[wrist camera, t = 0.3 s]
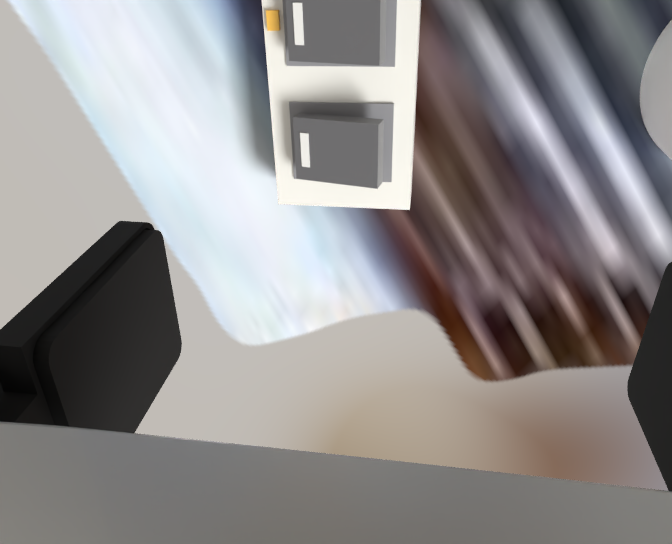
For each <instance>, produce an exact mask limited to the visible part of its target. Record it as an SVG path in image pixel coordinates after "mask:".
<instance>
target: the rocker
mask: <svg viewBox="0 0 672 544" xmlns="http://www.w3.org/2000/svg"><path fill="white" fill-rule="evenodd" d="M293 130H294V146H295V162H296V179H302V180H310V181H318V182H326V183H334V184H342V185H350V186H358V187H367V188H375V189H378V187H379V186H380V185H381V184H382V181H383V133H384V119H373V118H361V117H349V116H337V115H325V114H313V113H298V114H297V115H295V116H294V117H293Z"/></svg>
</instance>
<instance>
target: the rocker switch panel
mask: <svg viewBox="0 0 672 544" xmlns="http://www.w3.org/2000/svg"><path fill="white" fill-rule="evenodd" d="M262 10H263V23H264V35H265V47H266V59H267V72H268V84H269V96H270V108H271V120H272V133H273V145H274V157H275V169H276V181H277V194H278V204H286V205H310V206H333V207H357V208H380V209H404V210H410V202H411V191H412V172H413V152H414V132H415V112H416V92H417V72H418V52H419V32H420V12H421V0H386V39H385V62H384V63H383V64H381V65H380V66H374V65H355V64H336V63H317V62H298V61H289V50H288V34H287V18H286V2H285V0H262ZM298 113H313V114H325V115H337V116H349V117H361V118H373V119H384V133H383V181H382V184H381V185H380V186H379V187H378V189H375V188H367V187H358V186H350V185H342V184H334V183H326V182H318V181H310V180H302V179H296V162H295V146H294V130H293V117H294V116H295V115H297V114H298Z"/></svg>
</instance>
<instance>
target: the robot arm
mask: <svg viewBox="0 0 672 544" xmlns="http://www.w3.org/2000/svg"><path fill="white" fill-rule="evenodd" d="M181 344H182V343H181V336H180V330H179V324H178V319H177V313H176V307H175V302H174V296H173V290H172V285H171V280H170V274H169V268H168V263H167V257H166V251H165V246H164V240H163V236H162V234H161V232H160V231H159V230H154V228H153V226H152V225H151V224H150V223H145V222H129V221H119V222H118V223H116V224H115V225H114V226H113V227H112V228H111V229H110V230H109V231H108V232H106V233H105V234H104V235H103V236H102V237H101V238H100V239H99V240H98V241H97V242H96V243H94V244H93V245H92V246H91V247H90V248H89V249H88V250H87V251H86V252H85V253H84V254H82V255H81V256H80V257H79V258H78V259H77V260H76V261H75V262H74V263H73V264H72V265H71V266H69V267H68V268H67V269H66V270H65V271H64V272H63V273H62V274H61V275H60V276H58V277H57V278H56V279H55V280H54V281H53V282H52V283H51V284H50V285H49V286H47V288H45V289H44V290H43V291H42V292H41V293H40V294H39V295H38V296H37V297H35V298H34V299H33V300H32V301H31V302H30V303H29V304H28V305H27V306H26V307H25V308H23V309H22V310H21V311H20V312H19V313H18V314H17V315H16V316H15V317H14V318H13V319H11V320H10V321H9V322H8V323H7V324H6V325H5V326H4V327H3V328H2V329H0V544H672V262H671V263H669V264H668V266H667V267H666V269H665V272H664V275H663V278H662V281H661V284H660V287H659V290H658V293H657V296H656V299H655V302H654V305H653V308H652V310H651V313H650V316H649V319H648V322H647V325H646V328H645V331H644V334H643V337H642V340H641V343H640V346H639V349H638V352H637V355H636V358H635V361H634V364H633V367H632V370H631V373H630V376H629V380H628V397H629V400H630V402H631V405H632V407H633V409H634V411H635V414H636V416H637V418H638V421H639V423H640V425H641V427H642V430H643V432H644V435H645V437H646V439H647V441H648V444H649V446H650V448H651V451H652V453H653V455H654V457H655V460H656V462H657V465H658V467H659V469H660V471H661V474H662V476H663V478H664V481H665V483H666V485H667V488H668V490H669V491H664V490H655V489H646V488H637V487H628V486H619V485H610V484H601V483H593V482H583V481H574V480H566V479H557V478H547V477H539V476H530V475H520V474H511V473H501V472H493V471H483V470H474V469H465V468H455V467H446V466H437V465H427V464H418V463H410V462H401V461H392V460H382V459H373V458H363V457H354V456H344V455H335V454H326V453H315V452H306V451H297V450H287V449H279V448H270V447H260V446H251V445H241V444H233V443H223V442H214V441H204V440H193V439H184V438H175V437H165V436H154V435H145V434H136V433H135V431H136V429H137V428H138V426H139V424H140V422H141V421H142V419H143V417H144V416H145V414H146V412H147V411H148V409H149V407H150V406H151V404H152V402H153V401H154V399H155V397H156V395H157V394H158V392H159V390H160V389H161V387H162V385H163V384H164V382H165V380H166V379H167V377H168V375H169V374H170V372H171V370H172V368H173V367H174V365H175V364H176V362H177V360H178V358H179V356H180V353H181Z"/></svg>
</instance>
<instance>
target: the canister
mask: <svg viewBox="0 0 672 544" xmlns="http://www.w3.org/2000/svg"><path fill="white" fill-rule="evenodd" d="M640 109H641V114H642V118H643V122H644V125H645V127H646V129H647V131H648V133H649V135H650V137H651V138H652V140H653V141H654V142H655V144H656V145H657V146H658V147H659V148H660V149H661V150H662V151H663V152H664V153H665V154H666V155H667V156H668V157H669V158H670V159H671V160H672V20H671V21H670V22H669V23H668V25H667V26H666V27H665V29H664V30H663V31H662V33H661V34H660V36H659V38H658V39H657V41H656V43H655V44H654V46H653V48H652V50H651V52H650V54H649V57H648V59H647V62H646V65H645V68H644V71H643V75H642V80H641V86H640Z"/></svg>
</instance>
